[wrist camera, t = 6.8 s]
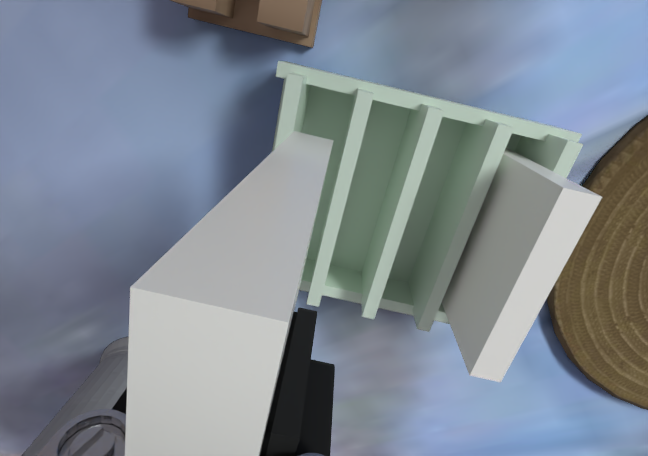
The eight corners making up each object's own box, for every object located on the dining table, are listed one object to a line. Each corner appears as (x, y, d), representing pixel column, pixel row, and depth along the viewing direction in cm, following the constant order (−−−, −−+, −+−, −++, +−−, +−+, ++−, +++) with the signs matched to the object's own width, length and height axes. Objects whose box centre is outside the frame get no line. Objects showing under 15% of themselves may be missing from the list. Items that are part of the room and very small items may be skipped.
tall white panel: (294, 130, 15) (130, 286, 4) (333, 140, 15) (288, 322, 4) (255, 333, 19) (115, 715, 7) (287, 340, 19) (195, 731, 7)
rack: (289, 61, 24) (243, 57, 14) (547, 124, 24) (686, 163, 14) (257, 251, 29) (208, 347, 19) (468, 299, 30) (528, 418, 20)
